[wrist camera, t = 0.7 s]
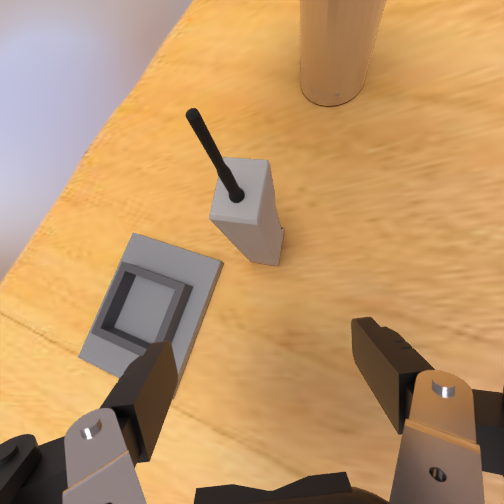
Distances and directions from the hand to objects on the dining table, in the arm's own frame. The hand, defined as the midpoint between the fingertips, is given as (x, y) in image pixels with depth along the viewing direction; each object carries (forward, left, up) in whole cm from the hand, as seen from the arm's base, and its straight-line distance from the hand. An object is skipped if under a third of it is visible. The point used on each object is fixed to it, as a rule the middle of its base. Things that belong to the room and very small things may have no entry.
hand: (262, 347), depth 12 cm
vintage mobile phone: (-9, -6, -22) cm, 24 cm away
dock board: (+4, -18, -22) cm, 28 cm away
